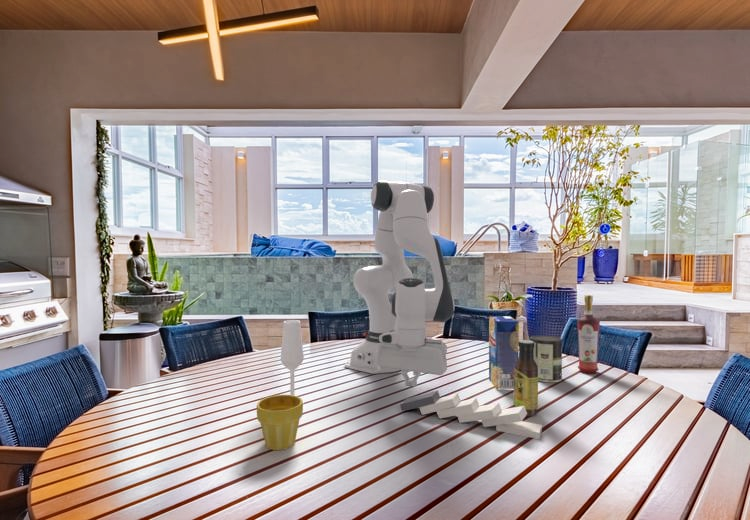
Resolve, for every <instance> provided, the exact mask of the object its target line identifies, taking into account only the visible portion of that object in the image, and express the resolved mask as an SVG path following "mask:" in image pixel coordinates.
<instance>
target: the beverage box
mask: <svg viewBox="0 0 750 520" xmlns="http://www.w3.org/2000/svg"><path fill="white" fill-rule="evenodd" d="M488 317H489V321H488V322H489V324H488V325H489V327H488V331H489V333H488V343H489V344H488V380H489V381H490V383H491V382H492V383H491V384H492V385H494V386H495V387H494V386H493V387H494V389H495V390H496V389H514V367H515V363H516V362H517V360H518V359H519V345H518V343H519V341H520V340H519V338H520V336H519V334H520V331H519V330H520V328H519V322H520V321H518V320H517V319H515V318H514V317H512V316H509V315H505V316H502V315H495V316H494V315H489V316H488Z"/></svg>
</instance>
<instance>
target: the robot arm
mask: <svg viewBox="0 0 750 520" xmlns="http://www.w3.org/2000/svg"><path fill="white" fill-rule="evenodd" d="M370 202H371V206H372V207H373V208H374V210H377V211H379V216H378V220H377V225H376V230H375V231H376V232H375V239H374V245H373V247H374V250H375V252H376V253H378V254H379V255H380V256H381V259H382V264H381V265H368V266H365V267H361V268H358V269H357V270H356V272H355V273H354V276H353V278H352V279H353V280H352V281H353V288H355V291H356V292H357V293H358V294H360V296H361V297H362V298H363V299H364V300H365V303H366V305H367V309H368V315H369V316H368V317H369V330H367V331H365V332H364V333H363V337H365V339H364V340H363V341H362V342H361V343H359V344H358V345H357V346H356V347H354V348H353V349H352V351H351V354H350V359H349V360H347V361H346V362H344V368H346V369H350V370H354V371H355V370H356V371H359V372H364V373H367V374H371V375H375V374H376V375H377V374H384V373H395V372H399V371H400V373H401V376H402V378H403V379H404V386H405V387H410V388H416V387H417V386H418V380H419V378H420V376H421V373H422V374H430V375H436V376H442V375H444V374H445V373H446V372H447V370H448V363H447V353H448V352H447V351H448V349H447V348H448V347H447V344H446V343H445V342H444V341H442V339H433V338H428V337H427V336H428V335H427V333H428V332H427V331H428V330H427V327H428V326H427V321H428V322H436V323H445V322H447V321H448V320H450V319H451V317H453V316H454V315H455V314H454V312H455V300H454V299H455V298H454V297H453V293H452V290H451V288H450V282H449V279H448V275H447V269H446V264H445V260H444V256H443V251H442V248H441V244H440V241H439V239H437V238H436V237H434V236H433V235H432V233H431V232H430V229H429V225H428V224H429V223H428V222H429V221H428V214H429V213H430V212H431V211H432V210H433V206H434V202H435V195H434V192H433V190H432V188H431V187H430V186H427V185H423V184H416V183H412V182H407V181H404V182H403V181H388V180H378V181H377V182H375V183H374V185H373V187H372V189H371V192H370ZM405 251H406V252H408V253H412V254H414V255H417V256H420V257H422V258H423V259H425V260H426V261H428V263H429V264H430V266H431V271H432V276H433V281H434V286H435V287H432V288H426V285H425V282H424V281H423V280H421V279H419V278H414V275H413V272H412V269H410V268H409V267H408V265H407V262H406V258H405ZM391 294H392V295H391ZM389 295H391V297H390V299H389ZM390 300H391V302H390ZM409 372H413V373H412V375H413V377H414V378H410V376H409V374H408V373H409Z"/></svg>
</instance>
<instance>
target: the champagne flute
mask: <svg viewBox="0 0 750 520" xmlns="http://www.w3.org/2000/svg"><path fill="white" fill-rule="evenodd" d="M281 335H282V337H281V338H282V339H281V347H280V348H281V349H280V362H281V363H282V365H283V366H284V367H285V368H286V369H287V370H289V371H290V372H289V375H290V376H289V381H290V382H289V384H290V386H289V387H290V389H289V390H290V393H289V395H294V396H296V395H295V370H297V368H299V366H300V365H301V364H302V363H303V361H304V359H305V356H304V347H303V346H304V345H303V337H302V327H301V321H300V320H297V319H296V320H295V319H292V320H291V319H289V320H284V321H283V327H282V334H281ZM302 401H303V404H304V403H305V402H304V400H303V399H302Z"/></svg>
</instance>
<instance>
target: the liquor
mask: <svg viewBox="0 0 750 520" xmlns="http://www.w3.org/2000/svg"><path fill="white" fill-rule="evenodd" d="M593 299H594V296H593V295H589V294H588V295H587V294H586V295H584V313H583V316H582V317H579V318H578V319H577V340H578V341H577V343H578V366H577V368H578V369H579V371H580V372H581V373H584V374H590V375H591V374H592V373H593V374H595V373H596V372H598V371H599V367H598V359H599V358H598V357H599V342H600V341H599V339H600V325H601V323H600V320H599V319H597V318H596V317H594V310H593Z"/></svg>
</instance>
